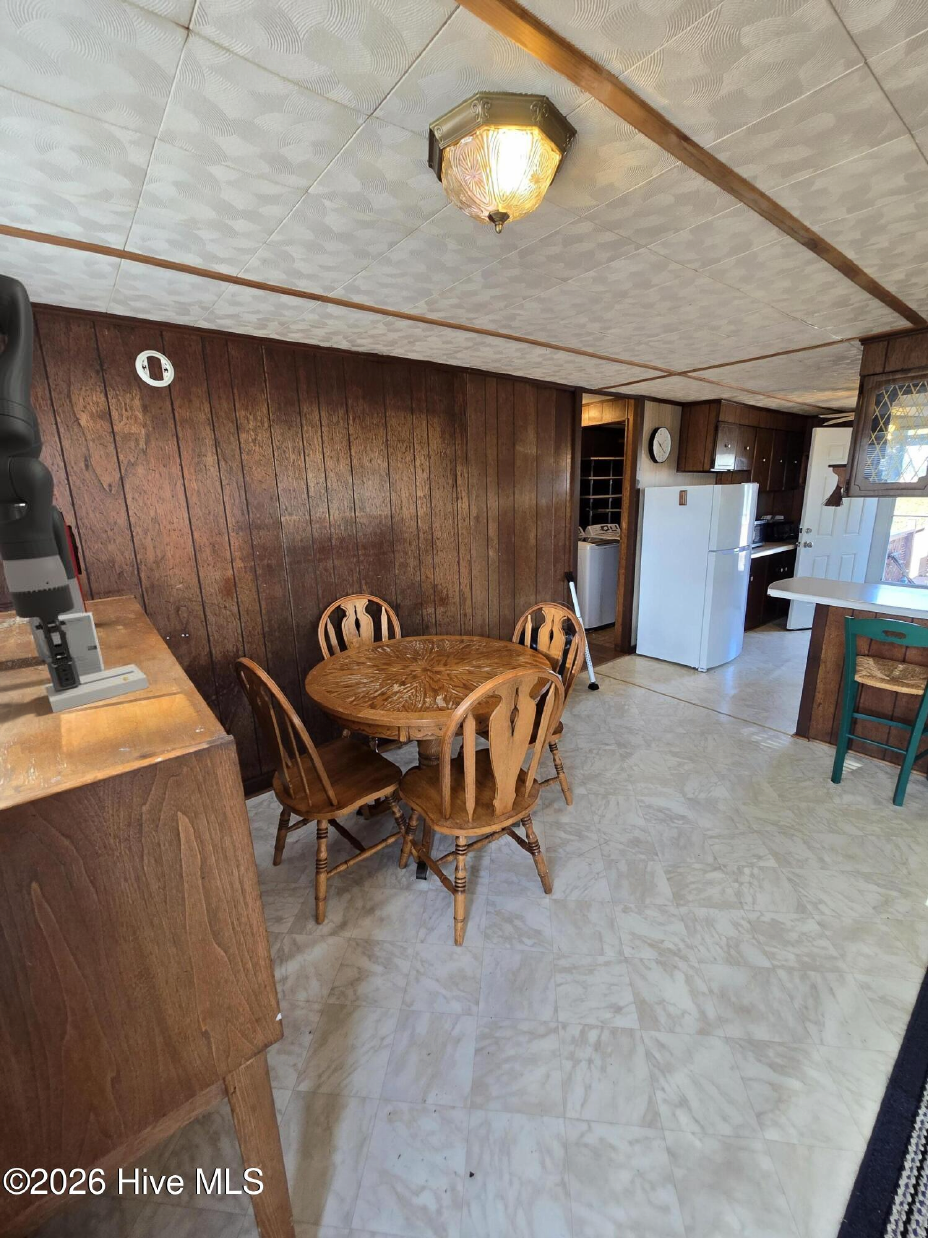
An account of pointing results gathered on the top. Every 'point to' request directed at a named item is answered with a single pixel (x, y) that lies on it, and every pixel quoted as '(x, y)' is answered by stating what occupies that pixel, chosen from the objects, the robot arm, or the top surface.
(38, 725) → the top surface
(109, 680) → the fader console
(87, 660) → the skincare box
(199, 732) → the top surface
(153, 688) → the top surface
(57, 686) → the fader knob
